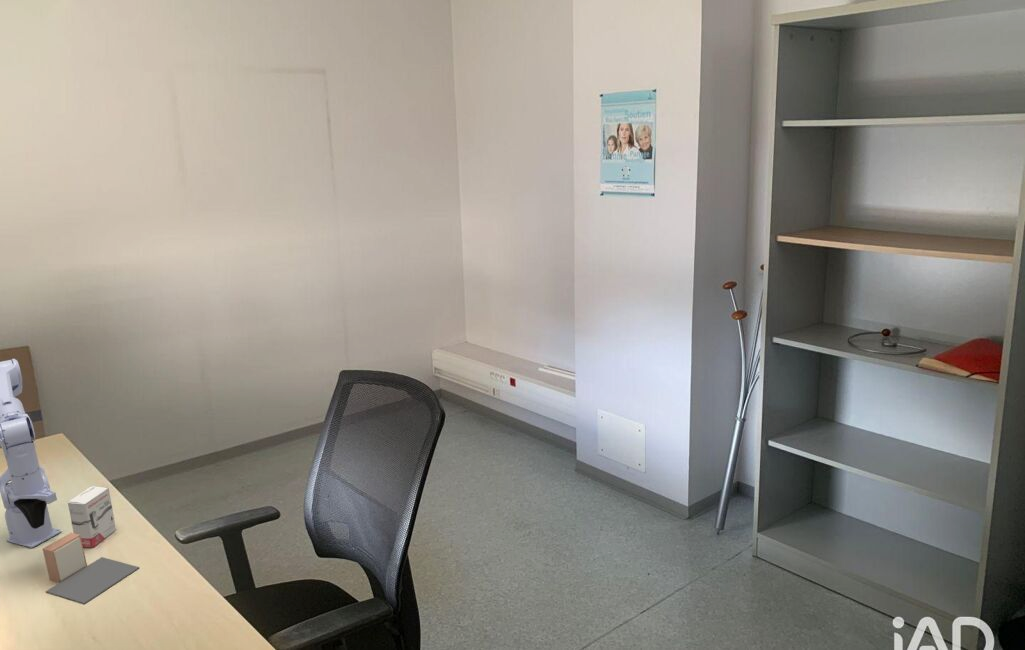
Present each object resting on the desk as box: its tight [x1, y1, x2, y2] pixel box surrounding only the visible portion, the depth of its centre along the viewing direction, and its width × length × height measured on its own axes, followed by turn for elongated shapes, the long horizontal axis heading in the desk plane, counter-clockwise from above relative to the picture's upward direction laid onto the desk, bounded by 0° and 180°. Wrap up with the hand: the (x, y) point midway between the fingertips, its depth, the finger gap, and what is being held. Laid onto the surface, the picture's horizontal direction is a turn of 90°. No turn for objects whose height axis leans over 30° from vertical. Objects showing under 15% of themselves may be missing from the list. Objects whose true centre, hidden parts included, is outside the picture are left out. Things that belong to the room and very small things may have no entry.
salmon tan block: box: [42, 532, 88, 584], centre depth 175 cm, size 3×7×8 cm, turn 156°
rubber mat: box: [45, 556, 140, 605], centre depth 173 cm, size 12×14×1 cm
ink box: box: [67, 485, 117, 548], centre depth 189 cm, size 9×5×12 cm, turn 168°
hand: (38, 526), depth 176 cm, fingers closed
